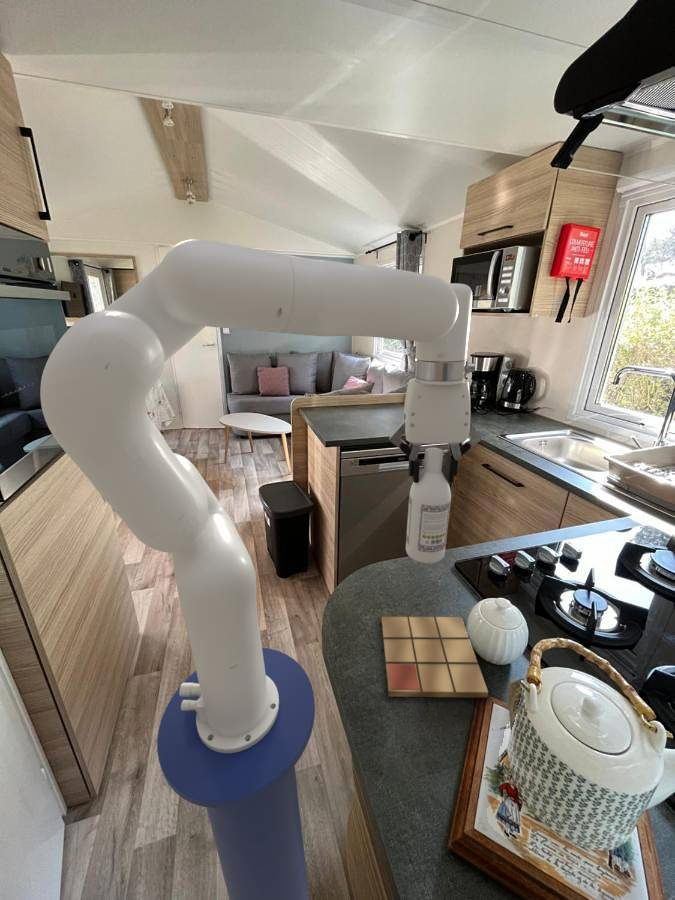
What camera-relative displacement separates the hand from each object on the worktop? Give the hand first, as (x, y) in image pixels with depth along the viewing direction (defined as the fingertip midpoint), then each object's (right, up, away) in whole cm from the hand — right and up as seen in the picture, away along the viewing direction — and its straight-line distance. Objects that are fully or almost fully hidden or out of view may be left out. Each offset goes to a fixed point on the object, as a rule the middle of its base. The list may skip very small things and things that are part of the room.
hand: (431, 478), depth 64 cm
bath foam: (0, -14, +5) cm, 15 cm away
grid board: (0, -30, +1) cm, 30 cm away
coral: (+10, -36, -14) cm, 40 cm away
